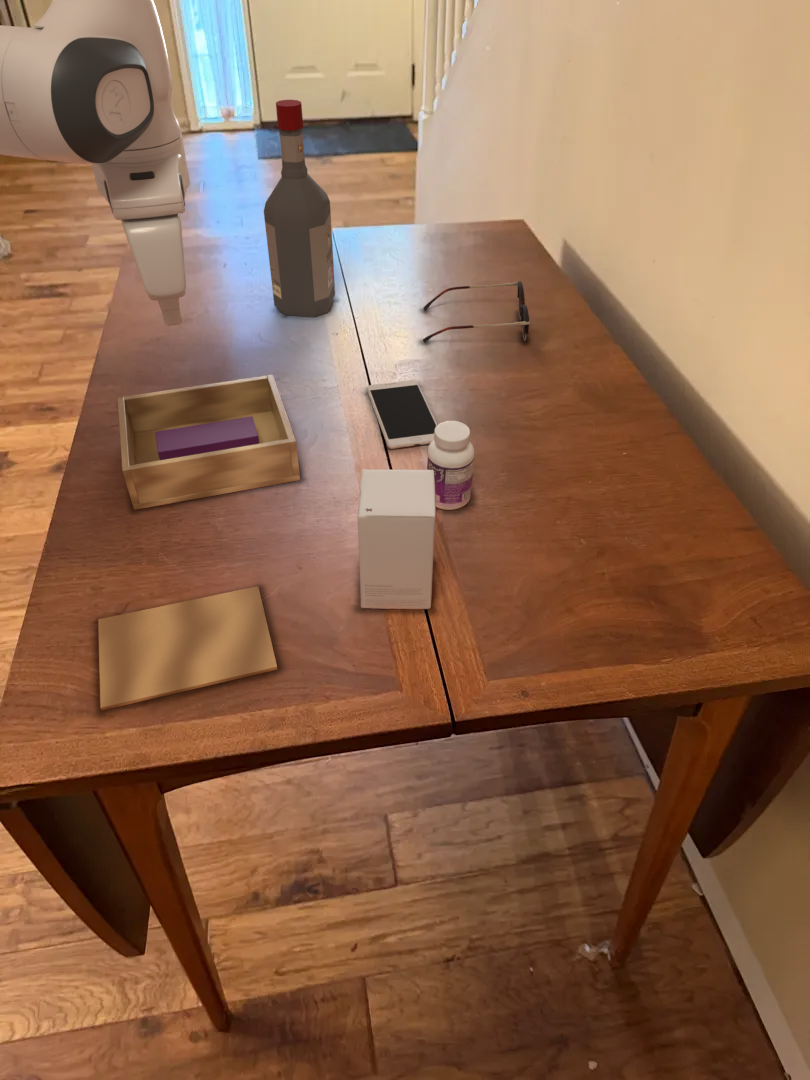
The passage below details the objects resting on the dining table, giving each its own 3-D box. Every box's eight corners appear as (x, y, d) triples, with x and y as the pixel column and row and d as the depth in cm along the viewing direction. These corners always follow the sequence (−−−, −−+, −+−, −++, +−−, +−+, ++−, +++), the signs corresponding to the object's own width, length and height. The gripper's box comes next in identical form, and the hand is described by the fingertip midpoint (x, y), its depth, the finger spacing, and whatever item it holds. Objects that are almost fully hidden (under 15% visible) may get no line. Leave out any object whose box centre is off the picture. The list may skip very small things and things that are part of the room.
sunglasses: (528, 349, 119) (530, 318, 115) (423, 353, 119) (421, 323, 116) (520, 307, 129) (521, 278, 125) (423, 311, 129) (422, 282, 126)
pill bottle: (419, 488, 94) (420, 421, 87) (459, 479, 95) (464, 412, 88) (436, 516, 90) (439, 448, 83) (477, 506, 91) (484, 438, 85)
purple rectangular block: (162, 471, 94) (157, 452, 92) (159, 450, 98) (155, 431, 96) (260, 454, 97) (258, 435, 95) (255, 434, 100) (252, 415, 98)
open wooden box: (134, 510, 90) (122, 470, 86) (128, 435, 101) (117, 397, 97) (300, 480, 95) (296, 441, 91) (277, 411, 105) (272, 374, 102)
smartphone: (388, 446, 98) (365, 385, 109) (388, 450, 99) (365, 389, 110) (445, 439, 100) (417, 378, 110) (445, 443, 100) (417, 382, 111)
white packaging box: (431, 611, 79) (436, 517, 70) (359, 609, 79) (354, 516, 71) (431, 560, 84) (435, 468, 76) (363, 559, 85) (360, 466, 76)
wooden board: (101, 710, 70) (100, 707, 70) (99, 622, 78) (97, 619, 77) (277, 669, 73) (277, 666, 73) (258, 589, 81) (258, 585, 81)
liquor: (337, 294, 132) (326, 95, 111) (327, 319, 125) (314, 113, 105) (284, 291, 132) (264, 93, 112) (272, 315, 126) (248, 110, 105)
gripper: (104, 140, 82) (134, 267, 91) (111, 208, 68) (145, 350, 77) (165, 135, 84) (188, 261, 93) (184, 201, 69) (210, 341, 79)
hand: (169, 302), depth 85 cm, fingers open, 8 cm apart
